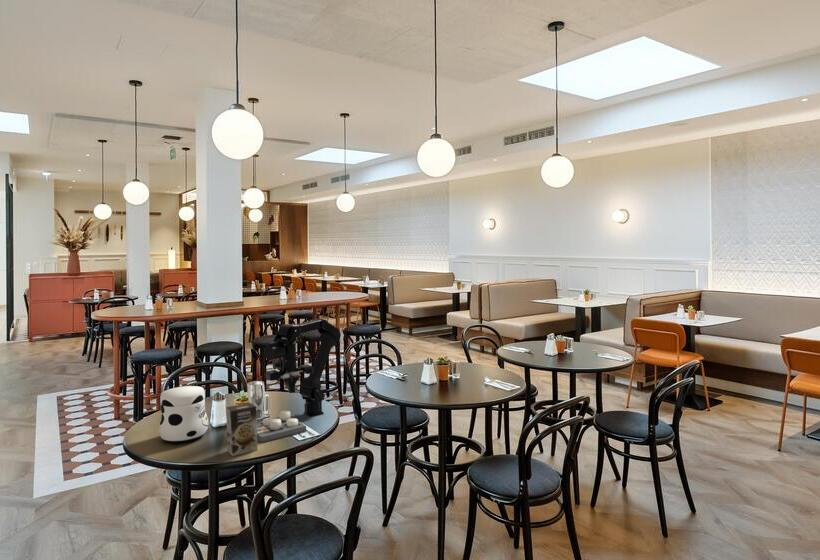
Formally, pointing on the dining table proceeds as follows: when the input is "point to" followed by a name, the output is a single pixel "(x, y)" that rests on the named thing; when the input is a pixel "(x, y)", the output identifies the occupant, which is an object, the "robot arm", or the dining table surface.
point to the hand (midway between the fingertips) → (290, 392)
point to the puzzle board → (277, 431)
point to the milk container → (183, 414)
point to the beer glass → (257, 397)
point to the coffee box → (241, 429)
